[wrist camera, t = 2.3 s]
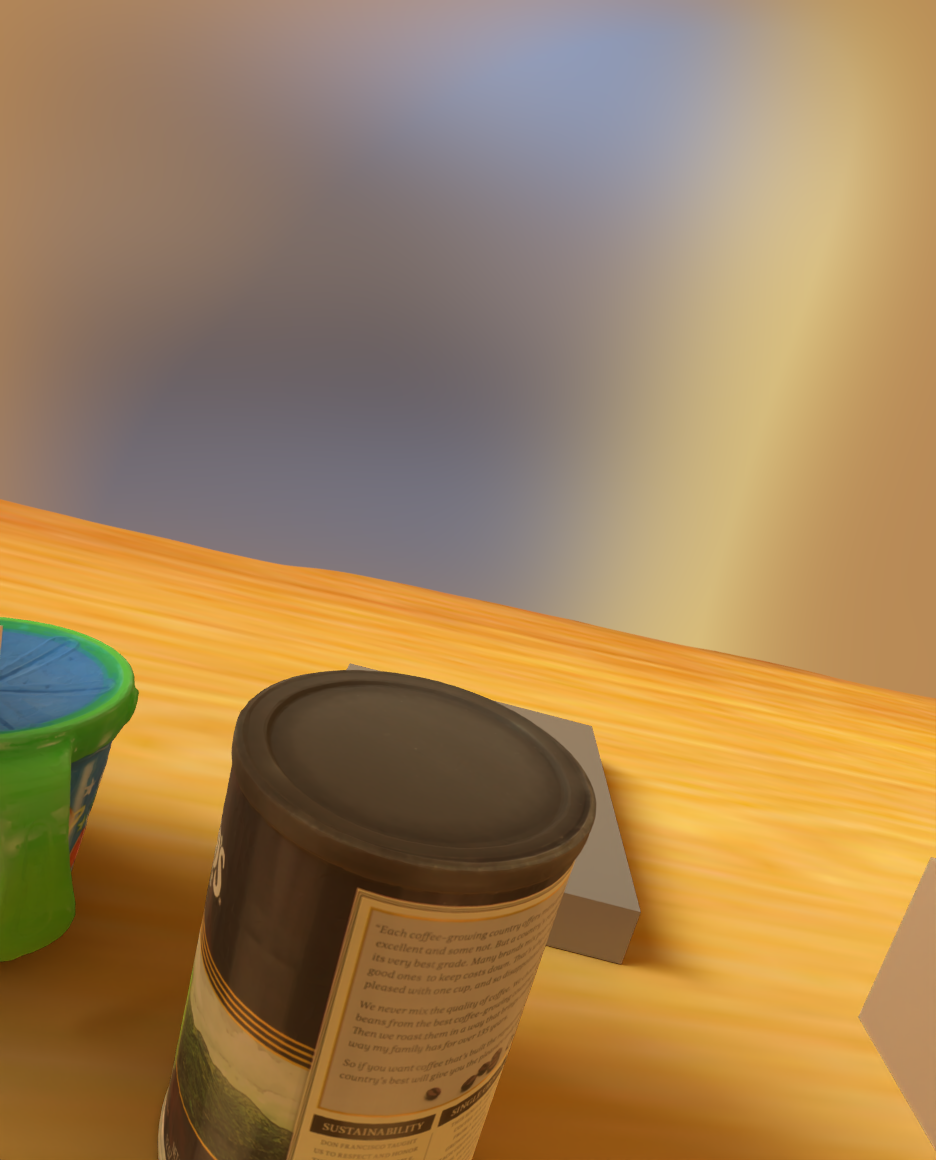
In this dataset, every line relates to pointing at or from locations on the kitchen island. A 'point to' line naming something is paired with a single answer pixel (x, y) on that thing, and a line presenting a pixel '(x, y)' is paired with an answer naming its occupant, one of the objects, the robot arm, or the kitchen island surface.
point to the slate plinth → (590, 860)
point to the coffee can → (370, 921)
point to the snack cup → (51, 768)
